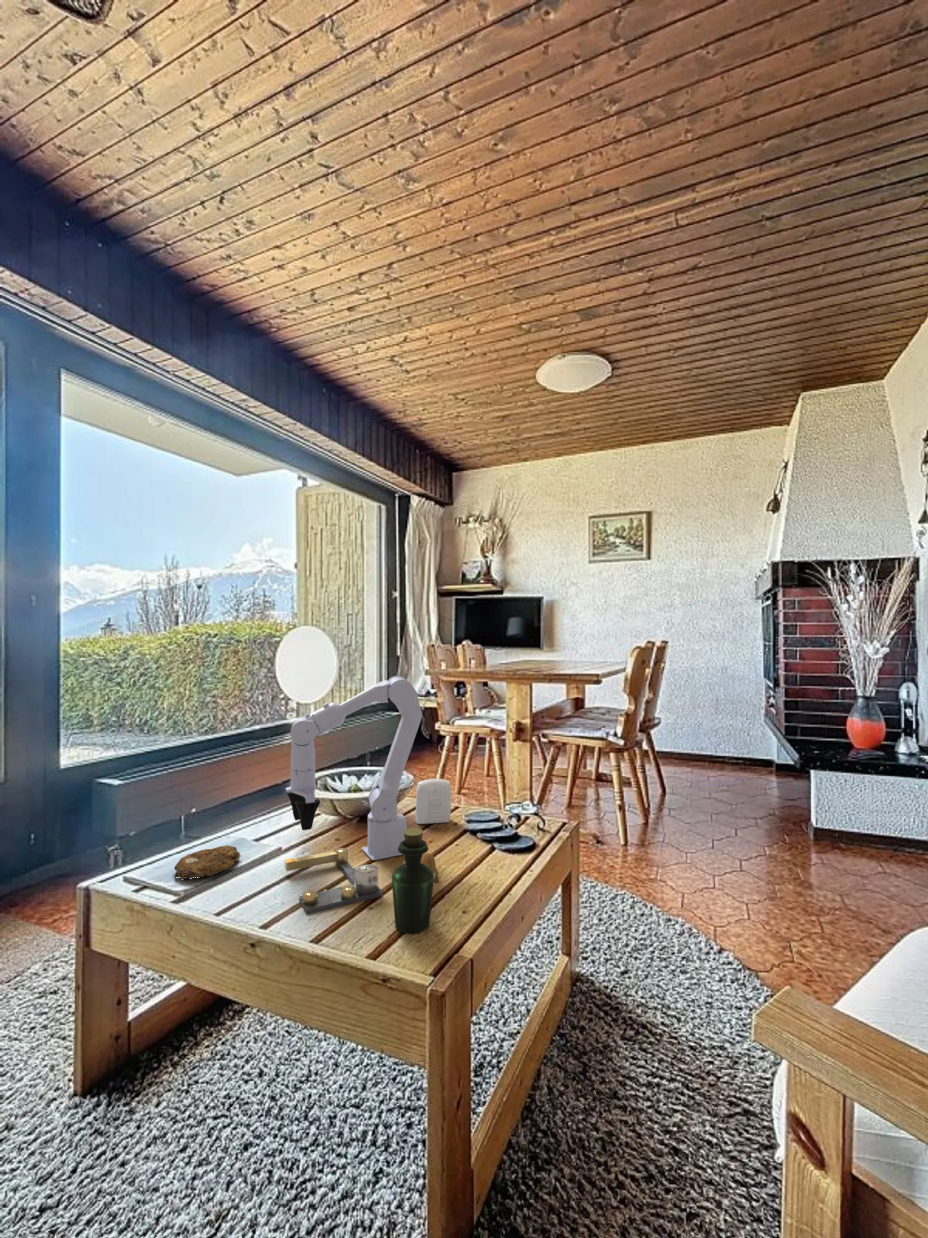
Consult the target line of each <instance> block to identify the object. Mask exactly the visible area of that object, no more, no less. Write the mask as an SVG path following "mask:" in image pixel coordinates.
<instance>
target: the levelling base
mask: <svg viewBox="0 0 928 1238" xmlns="http://www.w3.org/2000/svg"><path fill="white" fill-rule="evenodd" d="M338 867H339V869H340V871H341V872H342V873H343V874H344V876H345V878H346V879H347V880H348V881H349V883H350V884H349V885H344V886H340V887H335V888H332V889H331V888H329V889H323V890H321V891H317V890H315V889H309V890H306V891H304V892H303V893H302V895H300V896H298V902H299V904H300V906H301V907H302V909H303V911H304V913H305V914H306V915H308V914H313V913H316V912H323V911H326V910H330V909H335V908H338V907H342V906H343V907H344V906H346V905H351V904H355V903H359V902H364V901H368V900H373V899H377V898H382V897H383V890H382V889H381V888H380V886H379V867H378V866H377V865H374V864H362V865H359V866H357V867H355V869H354V868H353V866H352V865H351V864H350V862H349V861H348V862H344V863H339V866H338Z"/></svg>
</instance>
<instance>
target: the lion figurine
mask: <svg viewBox="0 0 928 1238" xmlns="http://www.w3.org/2000/svg"><path fill="white" fill-rule="evenodd" d="M435 859H436V858H435V856H434V855H433V854H432V853H429V852H428V853H427V852H426V853H424V854H423V855H422V859H421V862H420V863H422V864H425V865H427V866H428V867H430V869H431V870H432V872H433V875H434V881H433V883H434V882H435V883H437V882H439V871H438V869H437V866H436V861H435ZM404 863H405V859H404V860H403V862H402V863H401V865H403V864H404Z"/></svg>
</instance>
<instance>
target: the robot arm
mask: <svg viewBox="0 0 928 1238" xmlns="http://www.w3.org/2000/svg"><path fill="white" fill-rule="evenodd" d="M388 699H390V701H391V702H392V703H393V704H394V705H395V706H396V708H397V710H398V712H399V713H400V716H401V717H400V720H399V723H398V727H397V729H396V733H395V735H394V738H393V741H392V743H391V746H390V749H389V753H388V755H387V758H386V762H385V764H384V767H383V770H382V773H381V775H380V776H379V778H378V780H377V783H376V784H375V786H374V787H373V788H372V789H371V791H370V792H369V794H368V803H369V805H370V812H369V813H368V814H367V846H363V847H362V848H361V850H362V851H363V852H364V853H365V854H366V856H367V857H368V858H369V859H370V860H371V861H378V860H383V859H388V858H392V857H398V856H402V855H403V854H401V853H399V852H398V847H399V844H400V842H402V841H403V840H405V838H404V833H403V831H404V830H406V829H408V826H407V819H406V817H405V816H404V814H402V813H397V811H398V804H397V799H398V796H399V789H400V782H401V779H402V776H403V774H404V771H405V767H406V765H407V761H408V759H409V755H410V753H411V751H412V748H413V745H414V741H415V738H416V735H417V733H418V730H419V727H420V724H421V721H422V717H423V714H422V713H423V712H422V708H421V704H420V701H419V696H418V692H417V690H416V689H415V687H414V686H413V684H412V683H411V682H410V681H408V680H407V678H404V677H403V676H401V675H394V676H392V677H389V679H388V680H387V679H385V680H382V681H379V682H378V683H376V684H373V685H372V686H370V687H368V688H367V689H365V690H363V691H361V692H359V693H358V694H355V695H354V696H352V697H351V698H349V699H347V700H345V701H344V702H342V703H336V702H330V703H328V702H325V703H323V704H322V707H321V708H319V709H317V710H315V711H313V712H312V713H310V712H308V713H306V714H305V715H304V716H305V717H300V718H298V719H296V720H295V721H294V722H293V723H292V725H291V728H290V738H291V745H290V747H291V750H290V786H289V787H285V791H286V795H287V797H288V799H289V802H290V806H291V809H292V814H293V819H294V821H300V827H301V830H302V831H308V830H312V828H313V823H314V819H315V815H316V812H317V810H318V808H319V806H320V804H321V800H320V798H317V799H316V794H315V792H316V790H317V785H316V748H315V738H316V737H317V736H322V735H324V734H326V733H328V732H329V731H331V730H333V729H335V728H337V727H338V726H340V725H342V724H344V722H345V720H346V717H347V716H348V715H351V714H353V713H354V712H357V711H358V710H359V711H360V710H361V709H363V708H365V707H367V706H369V705H371V704H373V703H376V702H378V703H385V704H386V703H387V704H389V700H388ZM403 856H404V855H403Z"/></svg>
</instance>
